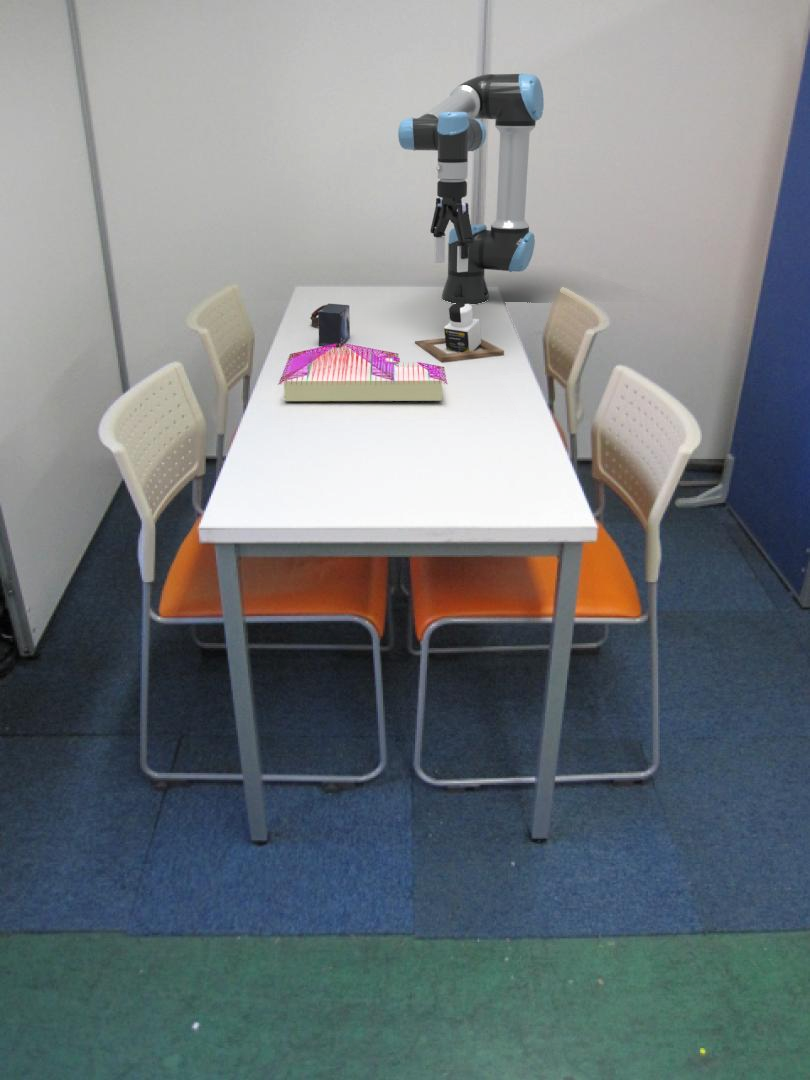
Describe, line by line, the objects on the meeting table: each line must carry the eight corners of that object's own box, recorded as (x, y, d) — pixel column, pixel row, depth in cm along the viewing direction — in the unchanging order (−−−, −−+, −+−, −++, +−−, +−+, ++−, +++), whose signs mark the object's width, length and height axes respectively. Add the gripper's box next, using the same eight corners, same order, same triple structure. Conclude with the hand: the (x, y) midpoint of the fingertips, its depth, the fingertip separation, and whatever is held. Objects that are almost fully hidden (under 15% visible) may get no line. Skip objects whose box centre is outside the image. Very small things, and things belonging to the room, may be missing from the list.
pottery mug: (348, 334, 252) (334, 310, 247) (320, 348, 254) (305, 325, 249) (349, 316, 261) (335, 293, 256) (321, 329, 263) (307, 307, 259)
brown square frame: (473, 340, 246) (473, 335, 245) (503, 356, 231) (504, 350, 230) (414, 346, 239) (414, 341, 239) (441, 363, 225) (441, 357, 224)
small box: (341, 351, 235) (340, 312, 230) (318, 350, 236) (316, 311, 231) (351, 341, 244) (350, 303, 239) (329, 340, 245) (327, 302, 241)
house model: (441, 370, 220) (442, 329, 216) (447, 402, 198) (448, 357, 193) (290, 370, 220) (288, 330, 215) (279, 402, 197) (276, 358, 193)
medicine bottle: (446, 351, 235) (441, 309, 227) (458, 339, 239) (454, 298, 232) (469, 355, 232) (465, 313, 224) (481, 343, 236) (478, 301, 229)
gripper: (418, 176, 228) (418, 260, 238) (461, 185, 208) (459, 277, 218) (444, 174, 231) (442, 257, 241) (489, 184, 211) (485, 274, 221)
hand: (450, 267), depth 230 cm, fingers open, 13 cm apart
